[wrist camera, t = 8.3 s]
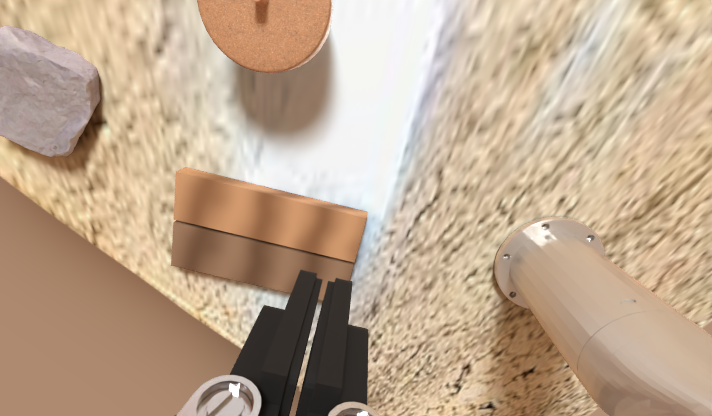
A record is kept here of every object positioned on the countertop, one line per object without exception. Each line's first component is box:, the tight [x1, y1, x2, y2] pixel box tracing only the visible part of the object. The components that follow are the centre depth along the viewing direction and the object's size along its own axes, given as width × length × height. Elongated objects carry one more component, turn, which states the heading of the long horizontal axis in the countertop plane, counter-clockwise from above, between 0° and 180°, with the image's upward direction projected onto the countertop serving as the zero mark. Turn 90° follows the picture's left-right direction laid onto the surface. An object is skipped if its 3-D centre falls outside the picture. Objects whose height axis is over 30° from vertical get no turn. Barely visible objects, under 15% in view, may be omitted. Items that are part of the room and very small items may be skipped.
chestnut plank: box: [174, 167, 367, 263], centre depth 40 cm, size 22×6×2 cm, turn 76°
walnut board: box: [171, 220, 354, 301], centre depth 42 cm, size 22×6×2 cm, turn 76°
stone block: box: [0, 26, 101, 157], centre depth 37 cm, size 12×5×10 cm
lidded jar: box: [197, 0, 333, 73], centre depth 29 cm, size 11×11×9 cm
